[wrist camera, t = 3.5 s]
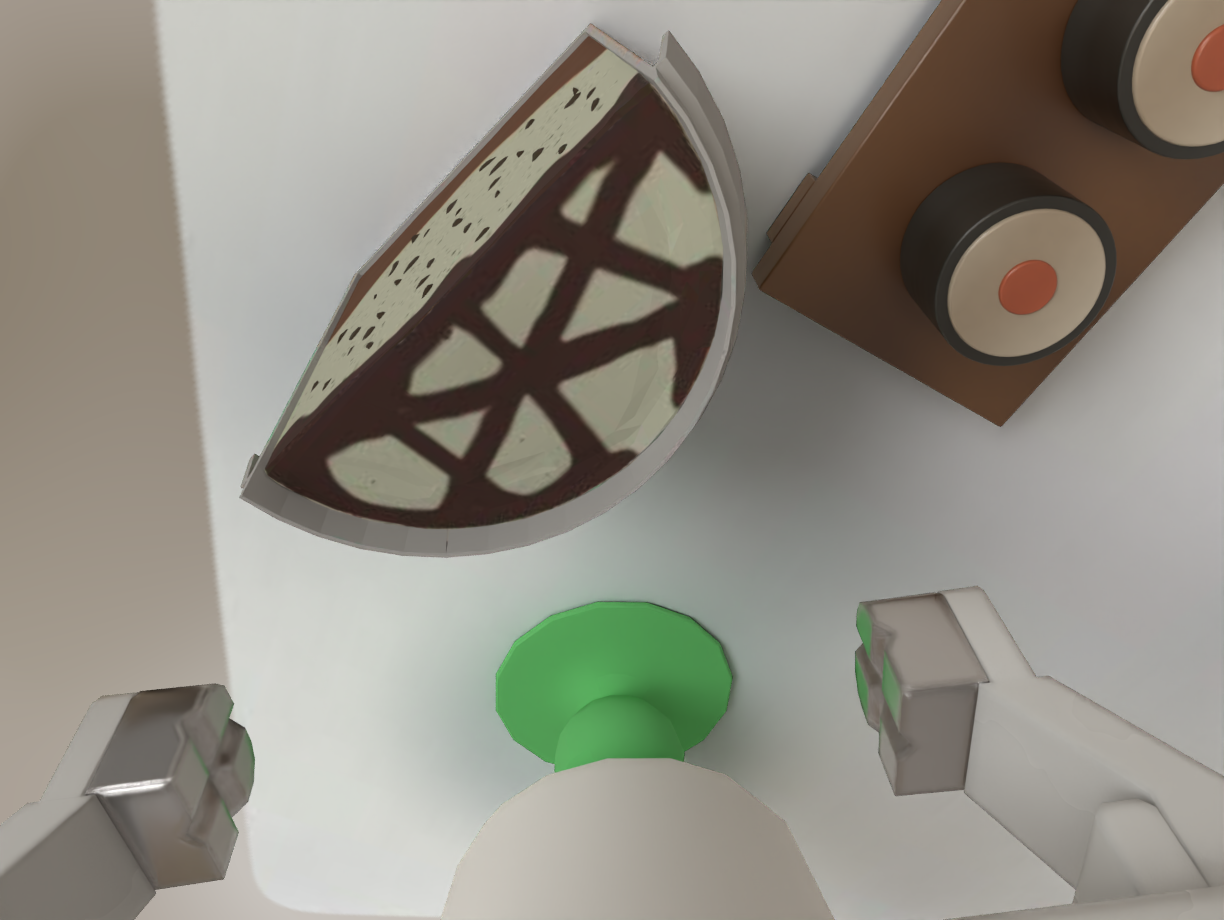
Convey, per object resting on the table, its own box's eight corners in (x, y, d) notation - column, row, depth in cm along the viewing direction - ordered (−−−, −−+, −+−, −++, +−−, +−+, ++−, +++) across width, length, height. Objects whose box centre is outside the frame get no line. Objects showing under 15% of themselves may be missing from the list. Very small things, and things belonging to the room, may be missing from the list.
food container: (482, 437, 30) (456, 666, 22) (321, 309, 28) (223, 514, 19) (788, 158, 26) (904, 308, 18) (634, -24, 23) (682, 51, 15)
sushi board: (1577, -285, 22) (1824, -316, 17) (976, 396, 30) (1045, 484, 26) (1329, -585, 19) (1554, -708, 15) (744, 262, 28) (780, 338, 23)
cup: (725, 823, 41) (811, 1289, 28) (405, 784, 39) (332, 1275, 25) (847, 583, 34) (1039, 1051, 21) (467, 515, 32) (411, 999, 18)
